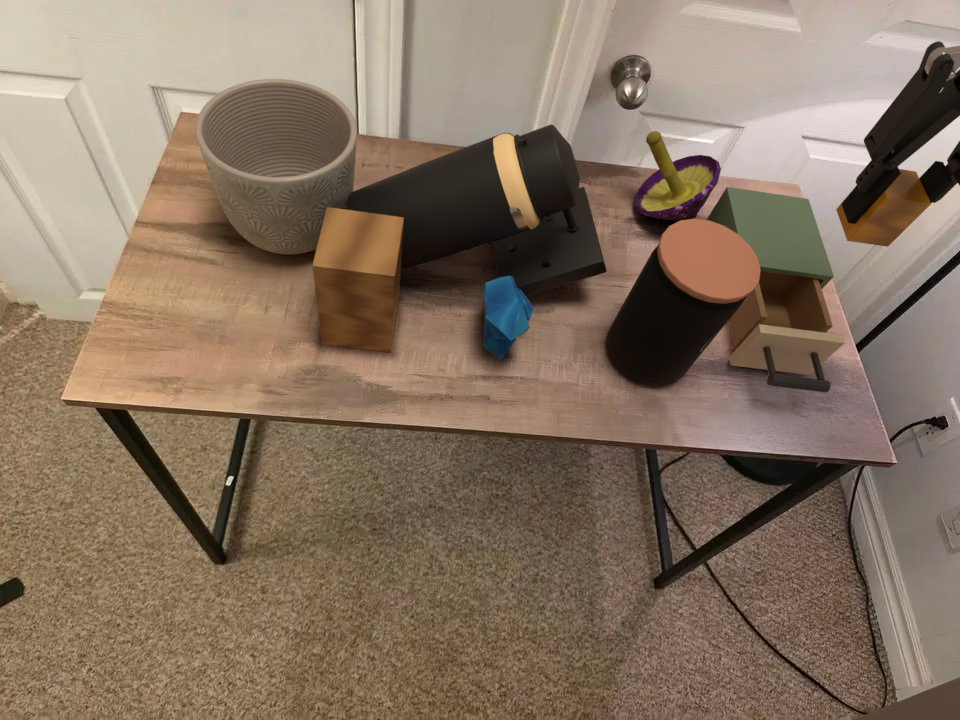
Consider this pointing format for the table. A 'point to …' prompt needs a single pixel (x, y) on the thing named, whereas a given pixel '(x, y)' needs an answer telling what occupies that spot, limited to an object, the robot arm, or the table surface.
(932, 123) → the robot arm
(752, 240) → the cabinet
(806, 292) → the drawer
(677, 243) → the coffee jar
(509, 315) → the crystal
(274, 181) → the planter
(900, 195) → the block
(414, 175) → the light fixture
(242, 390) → the table surface
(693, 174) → the decorative mushroom
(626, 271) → the table surface
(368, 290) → the stand
